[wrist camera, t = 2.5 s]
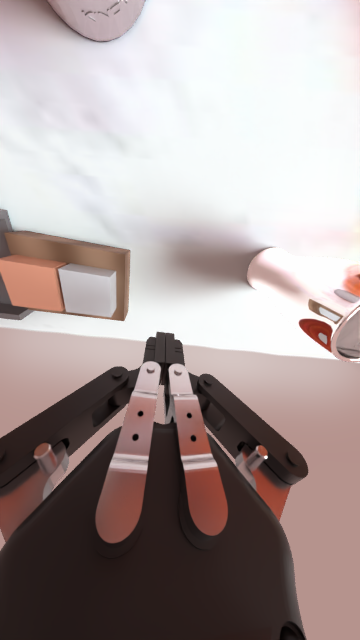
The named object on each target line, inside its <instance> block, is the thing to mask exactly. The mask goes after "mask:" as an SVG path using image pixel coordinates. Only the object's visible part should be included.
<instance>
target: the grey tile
mask: <svg viewBox="0 0 360 640" xmlns="http://www.w3.org/2000/svg"><path fill="white" fill-rule="evenodd" d="M58 271H59V276H60V281H61V287H62V292H63V298H64V303H65V308H66V312H71V313H79V314H88V315H96V316H104V317H112V315H113V313H114V311H115V309H116V271H114V270H108V269H102V268H96V267H90V266H84V265H78V264H72V263H70V264H68V265H66V266H64V267H61V268H59V269H58Z"/></svg>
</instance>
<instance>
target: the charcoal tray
mask: <svg viewBox="0 0 360 640" xmlns="http://www.w3.org/2000/svg"><path fill="white" fill-rule="evenodd" d="M5 232H13V230H12V226H11V223H10V219H9V216H8V213H7V210H3V209H0V258H3V257H7V256H11V253H10V250H9V247H8V243H7V240H6V237H5V234H4V233H5ZM33 311H35V310H28V307H21V306H13V305H12V302H11V300H10V297H9V294H8V292H7V289H6V286H5V283H4V281H3V278H2V275H1V272H0V318H5V319H14V320H22V319H23V318H24V317H26V316H27V315H29V314H30V313H32V312H33Z"/></svg>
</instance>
